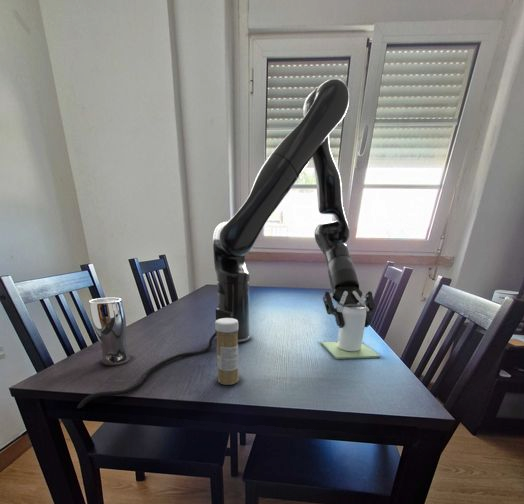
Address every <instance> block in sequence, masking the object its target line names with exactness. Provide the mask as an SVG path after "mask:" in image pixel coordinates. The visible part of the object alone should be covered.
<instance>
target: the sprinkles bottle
mask: <svg viewBox="0 0 524 504" xmlns="http://www.w3.org/2000/svg"><path fill="white" fill-rule="evenodd" d="M214 327H215V329H216V332H217V336H216V364H217V374H218V375H217V381H218V383H219V384H220V385H224V386H230V385H235V384H236V383H238V382H239V380H240V379H239V378H240V377H239V343H238V320H236V319H233V318H222V319H218V320H216V319H215V321H214ZM215 329H214V330H215Z"/></svg>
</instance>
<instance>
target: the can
mask: <svg viewBox="0 0 524 504" xmlns="http://www.w3.org/2000/svg"><path fill="white" fill-rule="evenodd" d="M365 308H366V307H365V306H364V305H359V303H358V304H345V305H344V307H342V310H341V312H342V314H343V318H344V323H345V325H344V326H343V328H338V336H337V342H338V344H337V346H338V348H339V349H341V350H343V351H348V352H356V351H359V350H360V349H361V345H362V343H363V339H364V333H365V332H364V331H365V328H366V327H365V320H366V310H365Z"/></svg>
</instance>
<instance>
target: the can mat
mask: <svg viewBox="0 0 524 504" xmlns="http://www.w3.org/2000/svg"><path fill="white" fill-rule="evenodd" d="M337 344H338V341H321V345H322V346H323V347H324V348H325V349H326V350H327V352H329V354H330V355H332V356H333V357H334V358H335V360H346V359H375V358H381V355H379V354H378V353H377V352H376V351H374V350H373V349H371V348H370V347H369V346H367V344H364V343H363V342H362V345H361V349H360V350H359V351H356V352H348V351H343V350H341V349H339V348H338V346H337Z"/></svg>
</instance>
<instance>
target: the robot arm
mask: <svg viewBox="0 0 524 504" xmlns="http://www.w3.org/2000/svg"><path fill="white" fill-rule="evenodd" d="M349 103H350V92H349V87H348V86H347V84H346V82H345V81H343V80H342V79H340V78H331V79H328V80H326V81H324V82H323V83H321V84H320V85H319V86H317V88H314V90H313V91H311V92H310V94H308V96H307V97H306V98H305V100H304V103H303V109H302V113H303V115H302V116H303V118H302V120H301V121H300V122H299V123H298V124H297V125H296V126H295V127H294V128H293V129H292V130H291V132H289V133H288V134H287V135H286V136H285V137H284V138H283V139H282V140H281V141H280V143H279V144H278V145H277V146H276V147H274V149H273V150H272V152H271V153H270V154H269V156H268V158H267V159H266V160H265V161H264V163H263V164H262V166H260V169H259V171H258V172H257V174H256V176H255V179H254V182H253V185H252V187H251V190H250V193H249V195H248V197H247V198H246V200H245V201H244V203H243V204H242V205H241V206H240V208H239V209H238V211H237V212H236V213H234V215H233V216H232V217H230V219H229V220H225V221H222V222H220V223H219V224H218V225H217V226H216V227H215V229H214V231H213V235H212V249H213V261H214V262H213V264H214V270H215V274H216V286H217V308H215V321H216V320H218V319H222V318H233V319H236V320H238V344H241V343H245V342H248V341H249V340H250V339H251V335H250V271H249V270H248V267H247V265H246V255H247V254H248V253H249V252H250V250H251V249H252V248H253V246H254V244H255V242H256V241H257V239H258V238H259V235H260V233H261V232H262V230H263V228H264V226H265V225H266V223H267V222H268V220H269V218H270V217H271V216H272V214H273V213H274V212H275V210H276V209H277V208H278V207H279V206H280V204H281V203H282V201H283V200H284V199H285V197H286V196H287V194H288V193H289V192H290V191H291V189H292V188H293V186H294V185H295V184H296V182H297V181H298V180H299V178H300V176H301V174H302V173H303V172H304V170H305V169H306V167H307V166H308V164H309V163H310V161H311V160H312V164H313V169H314V174H315V176H314V177H315V183H316V193H317V207H318V212H319V213H320V214H321V215H331V216H332V215H333V216H334V218H335V220H334V221H333V220H332V221H328V222H323V223H322V222H321V223H320V224H318V225H317V226H316V228H315V230H314V239H315V243H316V244H317V246H318V248H319V249H320V251H321V253H322V254H323V256H324V257H325V263H326V266H327V274H328V275H327V276H328V279H329V284H330V288H331V292H329V291H325V292H324V294H323V297H322V301H323V304H324V307H325V310H326V311H325V312H326V314H327V315H328V316H330V315H332V316H334V318H335V323H336V326H337V327H339V328H343V326H344V325H345V323H344V318H343V314H342V309H343V308H344V305H345V304H359V305H364V306H365V307H366V308H365V310H366V320H365V327H364V328H368V327H369V326H370V325H371V323H372V320H371V316H370V314H372V313H373V311H374V310H375V309H376V306H375V302H374V296H373V292H372V291H370V290H368V292H362V290H361V289H360V282H359V279H358V276H357V272H356V268H355V265H354V263H353V260H352V257H351V253H350V249H349V247H348V246H347V244H346V243H347V242H348V241H349V238H350V234H351V231H350V226H349V223H348V221H347V218H346V214H345V210H344V207H343V192H342V191H343V189H342V179H341V175H340V171H339V169H338V167H337V165H336V162H335V160H334V157H333V154H332V151H331V147H330V134H331V132H333V130H335V128H336V127H337V126H338V124H340V122H342V121H343V119H344V117H345V116H346V113H347V110H348V108H349ZM333 300H334V301H335V302H336V303H337V304H336V307H335V306H334V303H333ZM339 328H338V329H339ZM214 330H215V331H214V333H213V334H212V335H211V337H210V338H209V340H208V346H206V347H205V348H204V349H202V350H199V351H190V352H188V351H187V352H181V353H178V354H175V355H172V356H170V357H168V358H166V359H163V360H162V361H160V362H157V363H156V364H155V365H153V366H151V367H150V368H148V369H147V370H145V372H144V373H143V374H142V376H141V377H140V379H138V381H136V382H135V383H134V384H133V385H131V386H129V387H127V388H124V389H120V390H107V391H98V392H94V393H91V394H89V395H88V396H86V397H84V398H83V399H82V400H81V401H80V402H79V403H78V405H77V406H76V408H77V409H82V408H83V407H85V406H86V405H87V404H88V403H89V402H91V401H92V400H94V399H97V398H102V397H112V396H113V397H114V396H123V395H125V394H128V393H131V392H133V391H135V390H136V389H138V388H139V387H141V385H142V384H143V383H144V381H146V379H147V378H148V376H150V374H151V373H152V372H154V371H155V370H157V369H158V368H160V367H161V366H163V365H165V364H167V363H169V362H172V361H174V360H176V359H180V358H182V357H183V358H184V357H189V356H195V355H201V354H204V353H206V352H208V351H209V350H211V349H212V347H213V343H214V339H215V338H217V332H216V329H214Z"/></svg>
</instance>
